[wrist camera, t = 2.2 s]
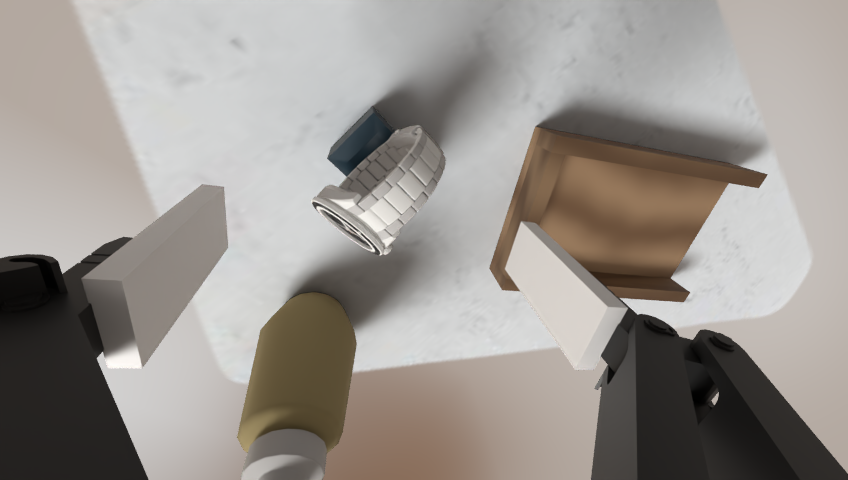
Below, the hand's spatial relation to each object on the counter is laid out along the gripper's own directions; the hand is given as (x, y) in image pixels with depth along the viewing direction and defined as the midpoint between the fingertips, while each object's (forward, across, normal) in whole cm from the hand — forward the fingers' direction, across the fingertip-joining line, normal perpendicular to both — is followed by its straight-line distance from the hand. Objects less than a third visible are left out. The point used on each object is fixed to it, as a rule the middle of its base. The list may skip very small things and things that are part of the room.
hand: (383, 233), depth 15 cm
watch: (+13, 0, 0) cm, 13 cm away
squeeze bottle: (+13, -4, -16) cm, 21 cm away
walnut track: (+12, +22, -2) cm, 26 cm away
